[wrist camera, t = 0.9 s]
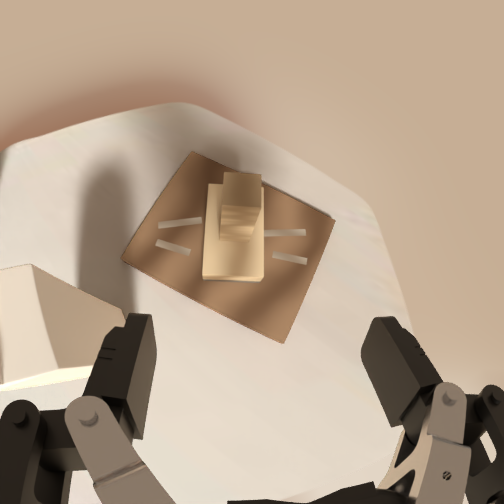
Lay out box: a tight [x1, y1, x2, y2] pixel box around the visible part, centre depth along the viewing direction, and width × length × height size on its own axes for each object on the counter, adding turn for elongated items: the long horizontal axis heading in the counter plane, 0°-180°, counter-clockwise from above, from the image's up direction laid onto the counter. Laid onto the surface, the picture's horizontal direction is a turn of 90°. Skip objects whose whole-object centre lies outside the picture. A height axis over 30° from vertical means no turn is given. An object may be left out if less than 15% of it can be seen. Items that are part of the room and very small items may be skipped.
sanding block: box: [202, 172, 264, 283], centre depth 29 cm, size 6×10×11 cm, turn 179°
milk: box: [0, 264, 126, 391], centre depth 19 cm, size 6×6×22 cm
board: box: [121, 152, 336, 344], centre depth 35 cm, size 20×16×1 cm
